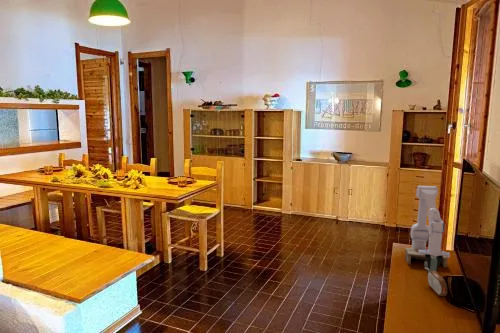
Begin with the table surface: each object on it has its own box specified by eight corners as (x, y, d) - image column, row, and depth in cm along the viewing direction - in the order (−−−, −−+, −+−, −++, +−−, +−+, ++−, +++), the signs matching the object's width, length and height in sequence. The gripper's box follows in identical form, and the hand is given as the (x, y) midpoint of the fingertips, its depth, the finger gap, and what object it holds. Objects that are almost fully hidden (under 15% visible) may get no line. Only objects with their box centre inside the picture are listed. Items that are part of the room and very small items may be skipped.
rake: (423, 265, 203) (425, 248, 200) (431, 265, 202) (433, 249, 199) (428, 276, 193) (430, 259, 190) (436, 277, 192) (438, 259, 189)
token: (423, 266, 204) (423, 265, 204) (431, 267, 203) (431, 265, 203) (424, 270, 200) (425, 268, 200) (432, 270, 199) (433, 269, 199)
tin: (447, 299, 171) (448, 282, 169) (440, 299, 171) (441, 282, 169) (432, 283, 186) (433, 267, 184) (425, 283, 186) (427, 267, 184)
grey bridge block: (405, 257, 216) (405, 247, 214) (442, 260, 211) (443, 250, 210) (407, 264, 207) (408, 253, 206) (446, 267, 202) (447, 257, 201)
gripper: (421, 245, 188) (419, 270, 190) (452, 248, 184) (449, 273, 187) (418, 240, 194) (416, 264, 197) (448, 242, 191) (446, 267, 193)
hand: (432, 268), depth 192 cm, fingers closed on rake, 3 cm apart
